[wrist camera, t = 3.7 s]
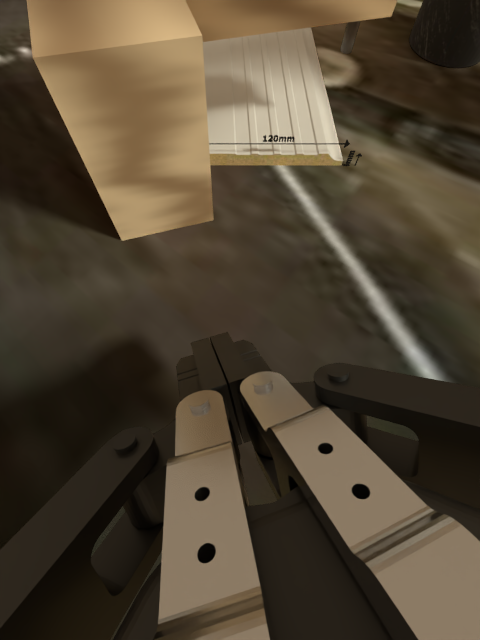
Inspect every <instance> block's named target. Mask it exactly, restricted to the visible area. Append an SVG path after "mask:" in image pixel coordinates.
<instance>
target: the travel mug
mask: <svg viewBox="0 0 480 640" xmlns="http://www.w3.org/2000/svg"><path fill="white" fill-rule="evenodd" d="M409 43H410V46H411V47H412V49H413V50H414V51H415V52H416V53H417V54H418V55H419V56H421V57H422V58H424V59H426V60H428V61H430V62H432V63H435V64H438V65H441V66H446V67H453V68H463V67H469V66H473V65H475V64H477V63H478V62H480V0H424V1H423V3H422V6H421V8H420V11H419V13H418V16H417V18H416V21H415V23H414V26H413V28H412V31H411V34H410V38H409Z"/></svg>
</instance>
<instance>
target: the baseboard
mask: <svg viewBox="0 0 480 640" xmlns="http://www.w3.org/2000/svg"><path fill="white" fill-rule="evenodd" d="M203 55H204V71H205V88H206V104H207V121H208V137H209V154H210V165H342V162H343V159H342V155H341V150H340V146H339V144H345V146H344V148H345V147H346V146H348V145H349V144H350V143H349V142H348V140H346V143H339V142H338V138H337V134H336V130H335V126H334V121H333V117H332V113H331V109H330V105H329V101H328V96H327V92H326V88H325V84H324V80H323V76H322V71H321V67H320V63H319V59H318V55H317V51H316V46H315V42H314V38H313V34H312V30H311V27H310V28H303V29H296V30H288V31H281V32H273V33H266V34H259V35H251V36H244V37H237V38H229V39H222V40H214V41H207V42H203ZM351 152H355V151H350V154H349V156H348V157H353V155H354V153H351ZM357 156H358V158H359V156H362V155H361V154H358V155H357ZM349 159H352V158H348V159H347V162H346V166H349V164H350V163H351V162H348V161H351V160H349ZM357 161H358V159H357ZM357 161H356V163H357ZM356 163H355V165H356ZM344 166H345V164H344Z"/></svg>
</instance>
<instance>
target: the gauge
mask: <svg viewBox="0 0 480 640" xmlns="http://www.w3.org/2000/svg"><path fill="white" fill-rule="evenodd" d="M396 2H397V0H27V6H28V15H29V25H30V34H31V44H32V54H33V59H34V61H35V63H36V65H37V67H38V69H39V71H40V73H41V75H42V77H43V80H44V82H45V84H46V86H47V88H48V90H49V92H50V94H51V96H52V98H53V100H54V102H55V104H56V106H57V108H58V110H59V112H60V115H61V117H62V119H63V121H64V123H65V125H66V127H67V129H68V131H69V133H70V135H71V137H72V139H73V141H74V143H75V145H76V147H77V149H78V152H79V154H80V156H81V158H82V160H83V162H84V164H85V166H86V168H87V170H88V172H89V174H90V176H91V178H92V180H93V182H94V184H95V187H96V189H97V191H98V193H99V195H100V197H101V199H102V201H103V203H104V205H105V207H106V209H107V211H108V213H109V215H110V217H111V219H112V221H113V224H114V226H115V228H116V230H117V232H118V234H119V236H120V238H121V240H122V241H123V240H128V239H132V238H136V237H141V236H145V235H150V234H154V233H159V232H163V231H168V230H172V229H176V228H181V227H185V226H190V225H194V224H199V223H203V222H207V221H212V220H214V219H213V203H212V186H211V170H210V154H209V137H208V121H207V104H206V88H205V71H204V55H203V42H207V41H214V40H222V39H229V38H237V37H244V36H251V35H259V34H266V33H273V32H281V31H288V30H296V29H303V28H310V27H318V26H325V25H332V24H340V23H347V22H348V23H347V27H346V30H345V34H344V38H343V41H342V45H341V49H340V51H341V52H342V53H345V54H349V53H351V51H352V48H353V44H354V41H355V38H356V34H357V31H358V28H359V25H360V21H362V20H369V19H377V18H384V17H391V16H392V13H393V11H394V8H395V5H396Z"/></svg>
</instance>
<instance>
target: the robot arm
mask: <svg viewBox="0 0 480 640" xmlns="http://www.w3.org/2000/svg"><path fill="white" fill-rule="evenodd" d="M210 341H211V343H210ZM191 346H192V350H193V354H194V355H191V356H188V357H184V358H181V359H180V361H179V362H178V364H177V366H176V370H177V378H178V386H179V394H180V403H179V405H178V406H177V409H176V418H175V420H174V421H172V422H171V423H170V424H169V425H168V426H166V427H164V428H163V429H161V430H159V431H158V432H156V433H154V434H153V433H152V432H151V430H150V429H148V428H146V427H132V428H129V429H126V430H123V431H121V432H119V433H118V434H116V435H115V436H113V437H112V438H111V439H110V440H108V441H107V442H106V443H105V444H104V445H103V446H102V447H101V448H100V449H99V450H98V451H97V452H96V454H95V455H94V456H93V457H92V458H91V459H90V460H89V461H88V462H87V463H86V464H85V465H84V466H83V467H82V468H81V469H80V470H79V471H78V472H77V473H76V474H75V475H74V476H73V477H72V478H71V479H70V480H69V481H68V482H67V483H66V484H65V485H64V486H63V487H62V488H61V489H60V490H59V491H58V492H57V493H56V494H55V495H54V496H53V497H52V498H51V499H50V500H49V501H48V502H47V503H46V504H45V505H44V506H43V507H42V508H41V509H40V510H39V511H38V512H37V513H36V514H35V515H34V516H33V517H32V518H31V519H30V520H29V521H28V522H27V523H26V524H25V525H24V526H23V527H22V528H21V529H20V530H19V531H18V532H17V533H16V534H15V535H14V536H13V537H12V538H11V539H10V540H9V541H8V543H7V544H6V545H5V546H4V547H3V548H2V549H1V550H0V640H110V639H111V637H112V635H113V634H114V632H115V630H116V628H117V627H118V625H119V623H120V622H121V620H122V618H123V616H124V615H125V613H126V611H127V610H128V608H129V606H130V604H131V603H132V601H133V599H134V597H135V596H136V594H137V592H138V591H139V589H140V587H141V585H142V584H143V582H144V580H145V579H146V577H147V575H148V573H149V572H150V570H151V568H152V566H153V565H154V563H155V561H156V560H157V558H158V556H159V554H160V553H161V551H162V562H161V563H160V564H159V565H158V567H157V568H156V569H155V570H154V571H153V573H152V574H151V575H150V576H149V578H148V579H147V581H146V582H145V584H144V585H143V587H142V588H141V590H140V592H139V593H138V595H137V597H136V599H135V600H134V602H133V604H132V606H131V608H130V610H129V611H128V613H127V615H126V617H125V619H124V621H123V622H122V624H121V626H120V628H119V630H118V632H117V633H116V635H115V637H114V639H113V640H480V388H477V387H471V386H466V385H461V384H455V383H450V382H444V381H439V380H433V379H428V378H422V377H417V376H411V375H406V374H400V373H395V372H389V371H384V370H378V369H373V368H368V367H362V366H357V365H351V364H345V363H334V364H328V365H325V366H323V367H321V368H319V369H318V370H317V371H316V372H315V374H314V381H313V382H303V383H290V382H288V381H287V380H286V379H285V378H284V377H283V376H282V375H281V374H279V373H276V372H272V371H271V370H270V368H269V367H268V365H267V364H266V362H265V361H264V360H263V358H262V357H261V356H260V354H259V352H258V351H257V349H256V348H255V347H254V345H253V344H252V343H250V342H248V341H245V340H241V341H238V342H235V343H233V341H232V339H231V337H230V335H229V334H228V332H226V333H223V334H219V335H216V336H212V337H210V340H209V338H206V339H202V340H199V341H195V342H192V343H191ZM366 415H368V416H371V417H375V418H379V419H382V420H386V421H390V422H393V423H397V424H400V425H404V426H406V427H408V428H410V429H411V430H413V431H414V432H415V433H416V435H417V436H418V439H419V441H415V440H411V439H408V438H405V437H401V436H398V435H394V434H391V433H388V432H384V431H381V430H378V429H374V428H371V427H367V418H366ZM238 428H239V429H238ZM239 430H240V433H241V436H242V438H243V441H244V443H245V442H248V441H252V444H253V446H254V450H255V454H256V458H257V461H258V463H259V465H260V467H261V469H262V471H263V473H264V475H265V477H266V479H267V481H268V483H269V485H270V487H271V489H272V491H273V492H274V494H275V496H276V498H277V501H276V502H273V503H270V504H262V505H254V506H250V503H249V499H248V495H247V490H246V486H245V481H244V477H243V472H242V468H241V464H240V452H239V448H238V445H240V444H242V441H241V437H240V433H239ZM122 506H123V507H124V509H125V513H124V514H123V515H122V517H121V518H120V519H119V521H118V522H117V523H116V525H115V526H114V527H113V529H112V530H111V531H110V533H109V534H108V535H107V537H106V538H105V539H104V541H103V542H102V543H101V545H100V546H99V548H98V549H97V550H96V552H95V553H94V554H93V556H92V557H91V553H92V549H93V547H94V544H95V542H96V541H97V539H98V537H99V536H100V535H101V533H102V532H103V531H104V530H105V528H106V527H107V526H108V524H109V523H110V522H111V520H112V519H113V518H114V516H115V515H116V514H117V513H118V511H119V510H120V509H121V507H122Z"/></svg>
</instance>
